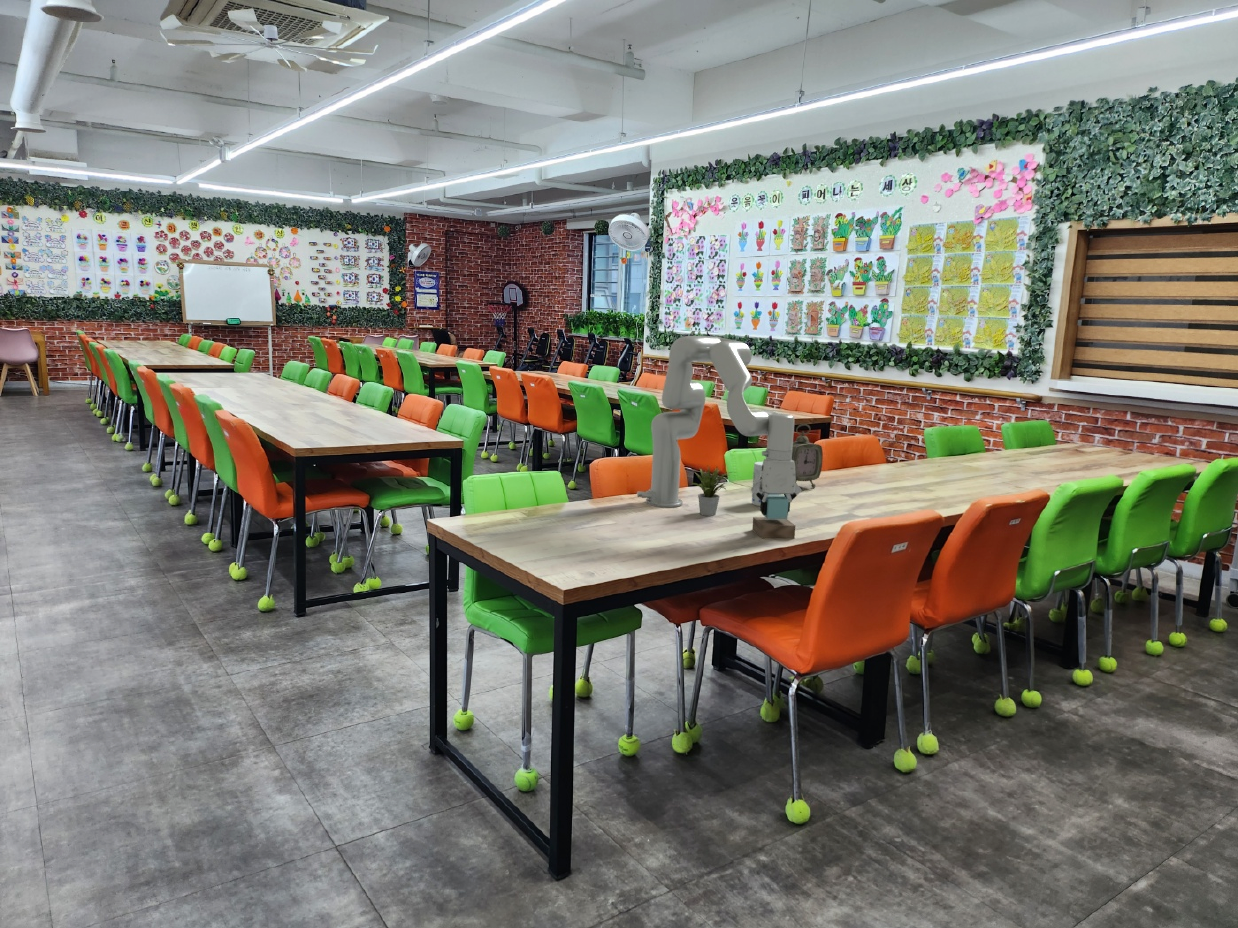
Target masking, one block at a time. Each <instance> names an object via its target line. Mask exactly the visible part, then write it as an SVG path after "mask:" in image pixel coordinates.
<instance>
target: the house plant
mask: <svg viewBox="0 0 1238 928" xmlns="http://www.w3.org/2000/svg"><path fill="white" fill-rule="evenodd" d="M699 471H700V474H698V473H697V472H695V471H693V473H695V474H696V476H697V478H698V479H699V480H700V482H701V483H696V482H691V483H690V485H694V486H697V487H699V488H700V489H701V490H702V491H703V493H699V494H698V495H697V496H698V497H697V498H698V506H699V514H700V515H701V514H702V516H706V517H712V516H713V517H714V516H716V514H717V511H718V506H719V501H720V499H721V498H720V494H716V493H718V491H720V490H721V489H724V490H727V489H726V488H727V486H725V484H726V482H724V483H720V482H721V480H725V479H727V477H726V476H728V475H729V474H731V473H733V471H731V472H726V473H722V475H719V472H720V471H721V468H720V469H718V466H716V467H715V469H714V471H713V472H712V474H711V471H710V467H709V465H707V470H705V471H704V470H703V469H702V468H701V467H699Z"/></svg>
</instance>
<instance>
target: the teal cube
mask: <svg viewBox="0 0 1238 928" xmlns="http://www.w3.org/2000/svg"><path fill="white" fill-rule="evenodd" d="M766 502H767V514H766V515H763V514H762V513H761V515H762V516H763V517H766V518H767V519H787V520H788V516H789V512H788V503H789V499H787V498H786V497H784V494H780V495H768V497H767V500H766Z"/></svg>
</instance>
